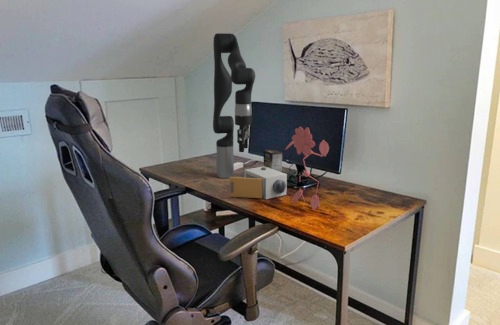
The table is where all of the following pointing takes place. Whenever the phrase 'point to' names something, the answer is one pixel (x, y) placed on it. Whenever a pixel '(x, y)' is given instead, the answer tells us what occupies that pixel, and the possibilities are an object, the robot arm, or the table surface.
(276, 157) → the coffee box
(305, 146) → the pink flower figure
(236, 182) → the side door
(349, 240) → the table surface
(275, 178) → the camera body
